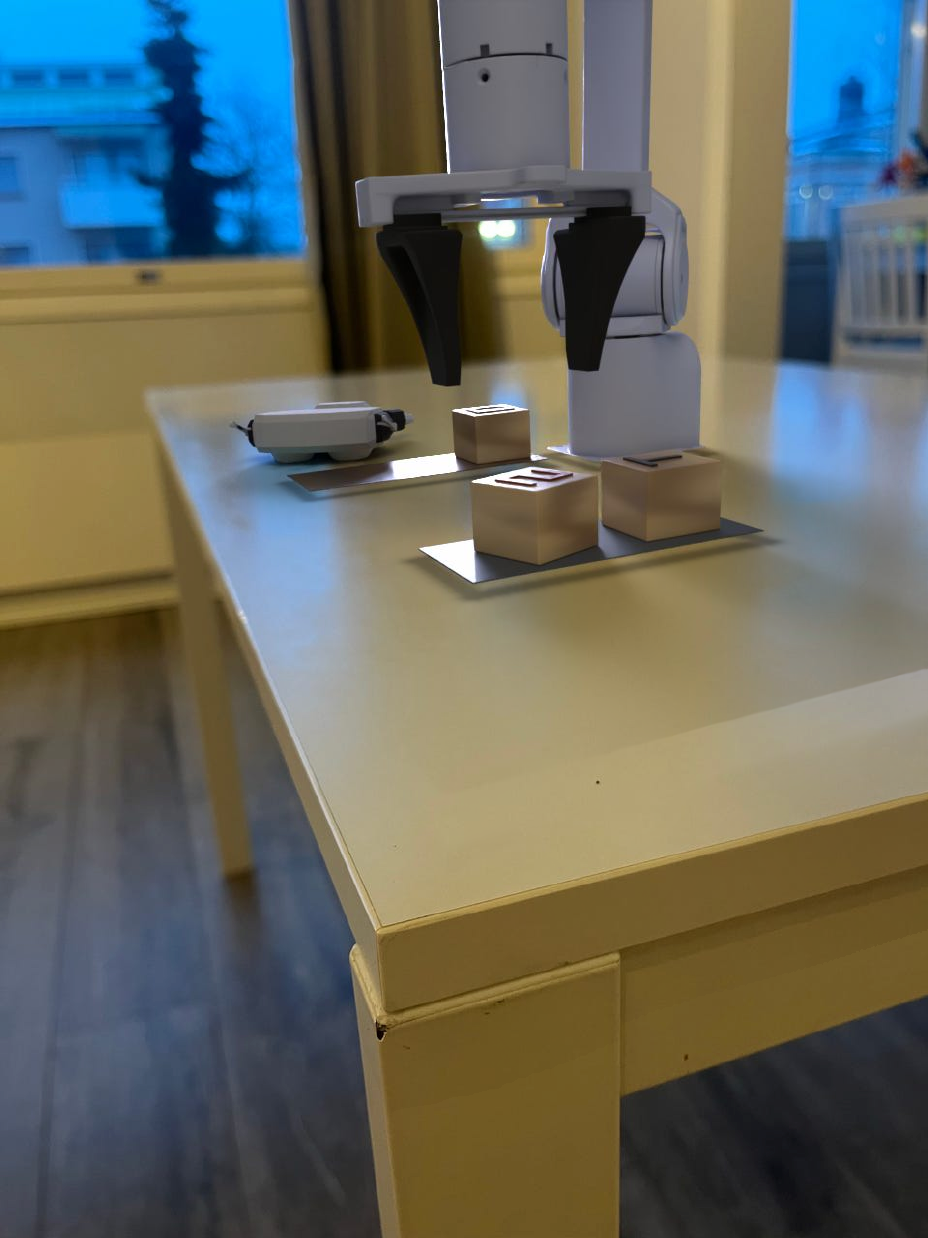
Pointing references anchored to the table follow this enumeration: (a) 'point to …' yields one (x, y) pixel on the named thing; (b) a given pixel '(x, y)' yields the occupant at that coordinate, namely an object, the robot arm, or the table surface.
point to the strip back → (393, 471)
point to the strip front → (610, 546)
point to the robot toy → (324, 431)
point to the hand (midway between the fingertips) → (517, 377)
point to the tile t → (661, 494)
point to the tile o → (491, 433)
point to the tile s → (535, 514)
